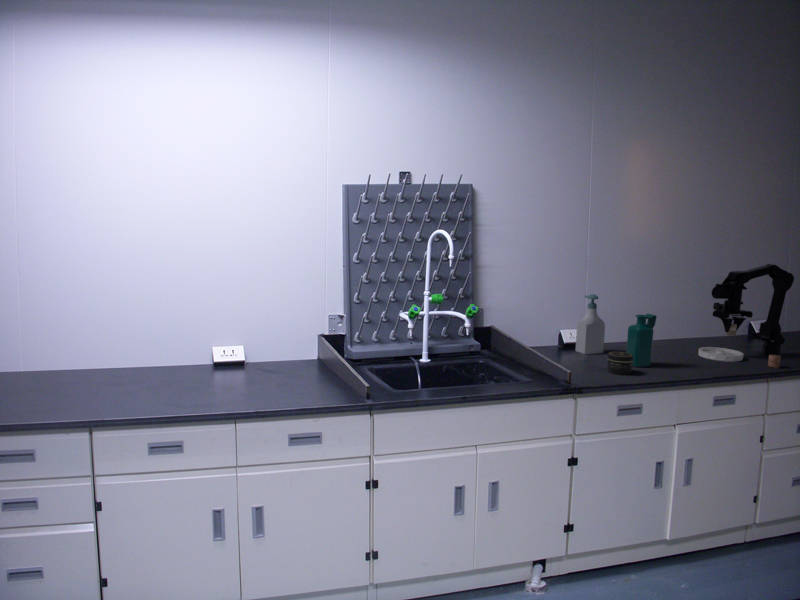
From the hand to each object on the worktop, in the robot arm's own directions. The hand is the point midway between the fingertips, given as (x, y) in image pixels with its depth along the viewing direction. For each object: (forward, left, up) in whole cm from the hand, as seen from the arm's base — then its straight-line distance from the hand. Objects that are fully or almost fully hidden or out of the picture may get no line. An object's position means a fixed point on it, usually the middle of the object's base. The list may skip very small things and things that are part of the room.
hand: (730, 332), depth 290 cm
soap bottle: (+64, -2, -12) cm, 65 cm away
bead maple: (0, 0, -1) cm, 1 cm away
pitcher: (+48, +21, -12) cm, 54 cm away
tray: (+4, +1, -12) cm, 12 cm away
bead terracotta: (-11, +18, -12) cm, 24 cm away
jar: (+61, +35, -12) cm, 72 cm away
